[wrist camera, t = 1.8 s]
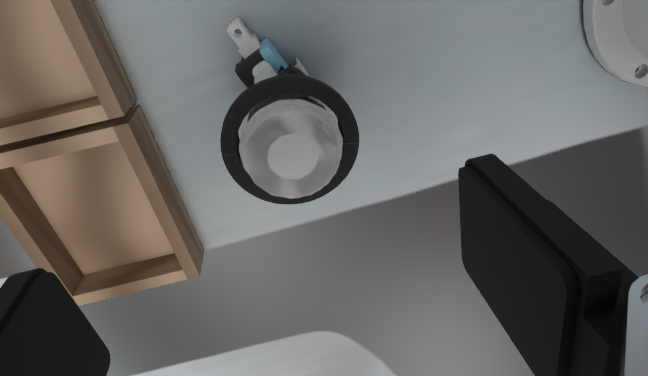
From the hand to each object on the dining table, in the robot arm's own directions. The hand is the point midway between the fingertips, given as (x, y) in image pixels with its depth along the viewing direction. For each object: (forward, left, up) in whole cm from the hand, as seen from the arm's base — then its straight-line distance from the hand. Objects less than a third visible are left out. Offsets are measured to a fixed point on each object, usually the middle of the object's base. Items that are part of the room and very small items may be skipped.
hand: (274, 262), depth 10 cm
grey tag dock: (+13, +5, -16) cm, 22 cm away
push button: (-1, 0, -17) cm, 17 cm away
